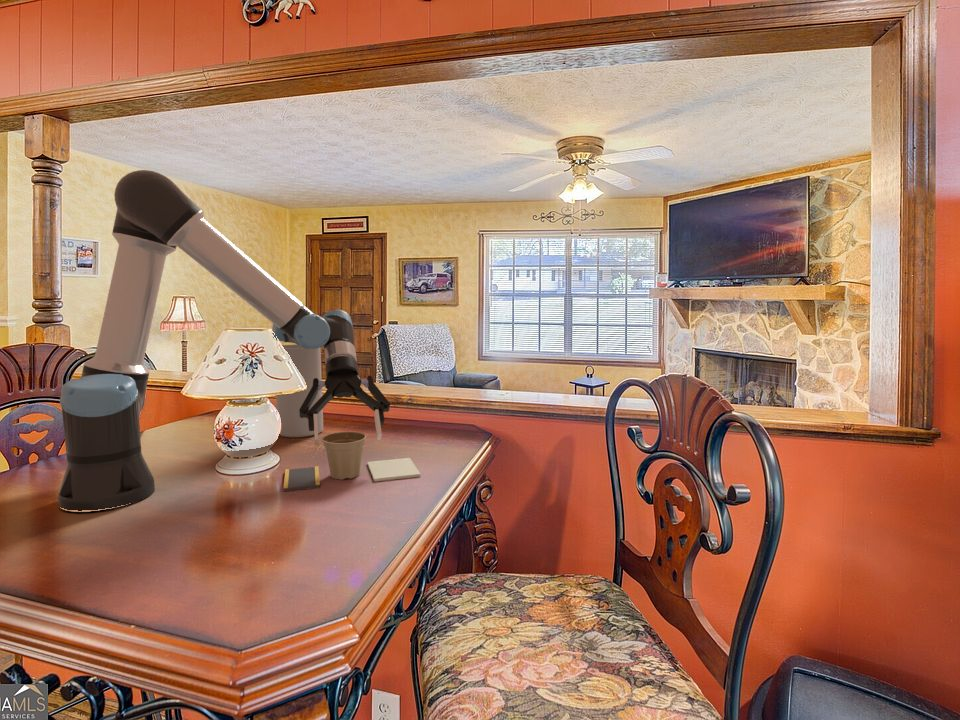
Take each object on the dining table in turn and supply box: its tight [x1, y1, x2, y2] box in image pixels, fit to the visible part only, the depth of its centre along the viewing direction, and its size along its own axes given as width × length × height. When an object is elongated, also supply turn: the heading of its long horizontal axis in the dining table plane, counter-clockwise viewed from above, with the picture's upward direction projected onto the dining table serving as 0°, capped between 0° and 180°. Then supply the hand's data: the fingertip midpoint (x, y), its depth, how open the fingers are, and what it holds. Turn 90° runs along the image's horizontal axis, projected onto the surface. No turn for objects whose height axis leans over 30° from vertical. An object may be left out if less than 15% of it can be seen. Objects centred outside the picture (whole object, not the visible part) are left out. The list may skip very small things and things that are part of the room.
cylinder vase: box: [275, 343, 324, 439], centre depth 148 cm, size 12×12×25 cm
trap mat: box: [283, 465, 321, 492], centre depth 111 cm, size 7×12×1 cm, turn 19°
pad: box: [367, 457, 421, 482], centre depth 117 cm, size 10×12×1 cm
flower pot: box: [321, 431, 367, 481], centre depth 113 cm, size 9×9×9 cm
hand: (348, 439), depth 115 cm, fingers open, 13 cm apart
